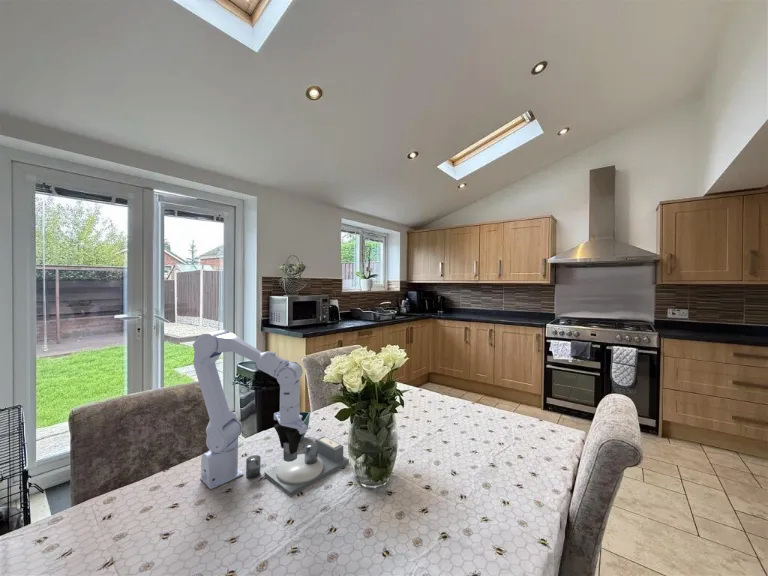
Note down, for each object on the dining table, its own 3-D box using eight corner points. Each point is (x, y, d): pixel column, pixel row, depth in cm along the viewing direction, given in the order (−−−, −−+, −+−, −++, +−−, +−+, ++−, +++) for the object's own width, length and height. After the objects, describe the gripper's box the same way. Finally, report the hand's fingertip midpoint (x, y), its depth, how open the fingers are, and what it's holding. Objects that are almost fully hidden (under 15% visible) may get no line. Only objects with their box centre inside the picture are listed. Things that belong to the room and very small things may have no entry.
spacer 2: (289, 463, 92) (289, 446, 92) (280, 458, 94) (280, 442, 94) (300, 457, 95) (300, 440, 95) (291, 452, 97) (291, 436, 97)
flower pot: (303, 446, 113) (304, 421, 113) (279, 445, 114) (280, 421, 114) (310, 434, 122) (310, 411, 122) (287, 434, 122) (288, 411, 122)
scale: (290, 496, 87) (290, 476, 87) (264, 475, 96) (264, 457, 96) (348, 463, 103) (349, 446, 103) (322, 448, 112) (322, 432, 112)
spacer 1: (250, 480, 93) (250, 464, 93) (243, 475, 96) (243, 459, 96) (262, 474, 96) (262, 458, 96) (256, 469, 99) (256, 453, 99)
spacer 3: (309, 466, 97) (309, 450, 97) (301, 461, 100) (302, 445, 100) (319, 460, 100) (320, 445, 100) (312, 456, 103) (312, 441, 103)
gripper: (315, 407, 92) (315, 453, 92) (288, 395, 102) (287, 436, 102) (294, 414, 87) (294, 463, 87) (267, 401, 96) (267, 445, 96)
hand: (289, 449), depth 94 cm, fingers closed on spacer 2, 4 cm apart
